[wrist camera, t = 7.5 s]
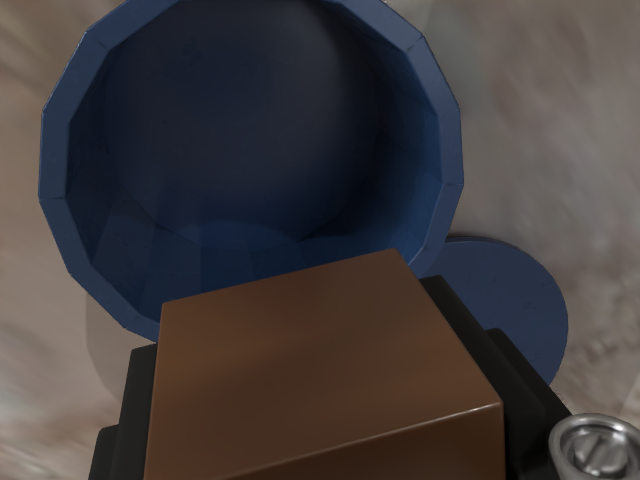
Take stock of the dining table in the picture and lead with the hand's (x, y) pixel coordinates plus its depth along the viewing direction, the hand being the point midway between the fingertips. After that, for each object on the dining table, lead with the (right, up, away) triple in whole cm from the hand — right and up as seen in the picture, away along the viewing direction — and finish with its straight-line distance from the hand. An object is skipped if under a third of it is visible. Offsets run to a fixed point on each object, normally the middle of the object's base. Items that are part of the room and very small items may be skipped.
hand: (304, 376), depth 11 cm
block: (0, 0, 0) cm, 0 cm away
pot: (-3, +8, +15) cm, 17 cm away
